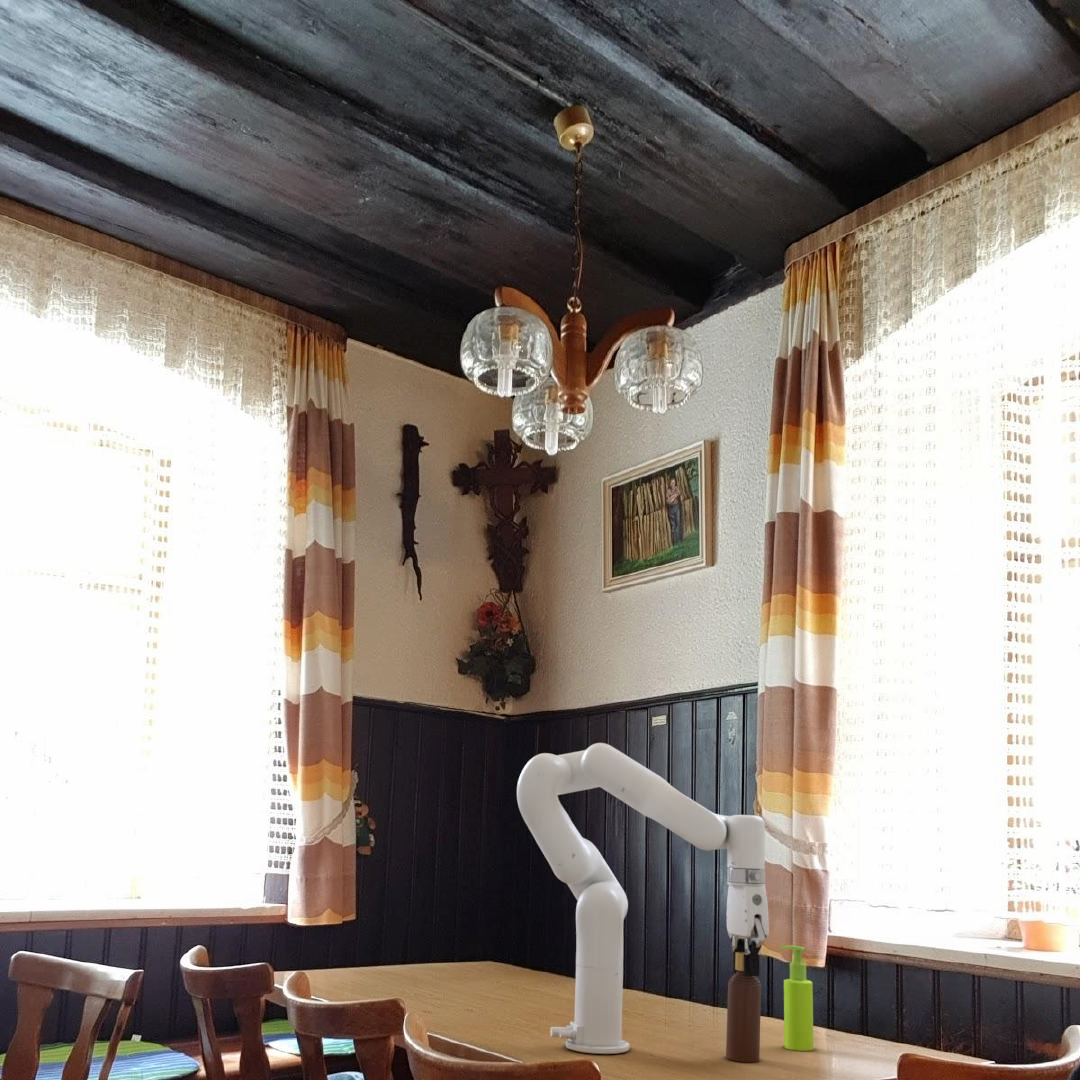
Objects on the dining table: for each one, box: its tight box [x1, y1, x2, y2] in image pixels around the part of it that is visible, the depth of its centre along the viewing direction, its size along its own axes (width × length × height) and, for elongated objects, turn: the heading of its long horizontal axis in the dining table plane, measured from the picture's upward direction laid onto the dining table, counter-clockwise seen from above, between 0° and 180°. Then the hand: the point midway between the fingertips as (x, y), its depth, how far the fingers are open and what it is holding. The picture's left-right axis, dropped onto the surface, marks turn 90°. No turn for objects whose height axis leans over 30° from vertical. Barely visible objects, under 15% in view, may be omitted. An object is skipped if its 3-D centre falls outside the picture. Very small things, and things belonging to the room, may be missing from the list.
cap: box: [735, 952, 746, 971], centre depth 233 cm, size 4×4×3 cm
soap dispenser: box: [778, 944, 815, 1052], centre depth 246 cm, size 6×7×20 cm
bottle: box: [725, 970, 762, 1063], centre depth 231 cm, size 6×6×19 cm
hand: (746, 973), depth 232 cm, fingers closed on cap, 3 cm apart
